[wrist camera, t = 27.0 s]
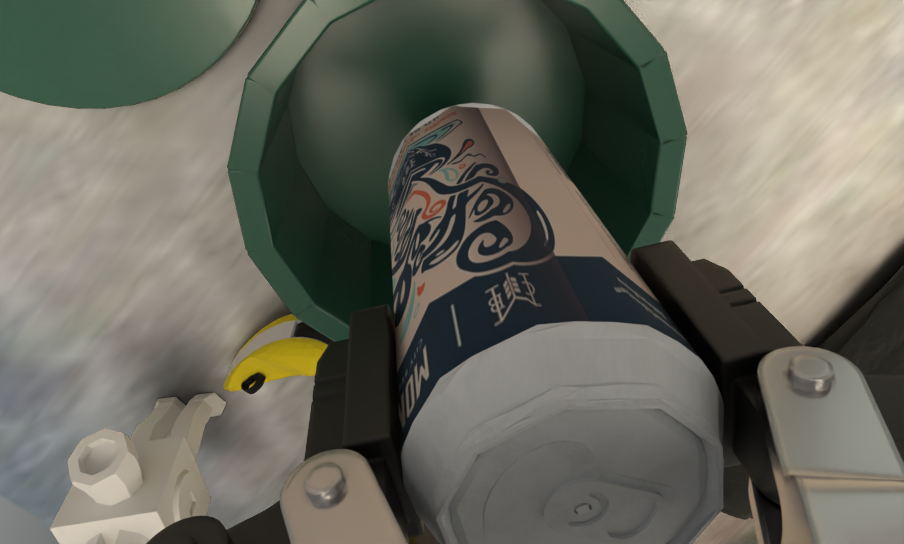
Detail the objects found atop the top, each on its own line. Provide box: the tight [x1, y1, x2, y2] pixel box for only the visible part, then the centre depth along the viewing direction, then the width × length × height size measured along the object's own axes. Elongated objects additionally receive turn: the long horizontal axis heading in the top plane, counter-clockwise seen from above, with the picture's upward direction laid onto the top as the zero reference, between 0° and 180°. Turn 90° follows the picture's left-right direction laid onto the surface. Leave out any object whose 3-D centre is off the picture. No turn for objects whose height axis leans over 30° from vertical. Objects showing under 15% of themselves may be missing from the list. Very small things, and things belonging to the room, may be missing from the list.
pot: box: [227, 0, 687, 342], centre depth 21 cm, size 13×13×8 cm
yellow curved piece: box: [223, 313, 334, 394], centre depth 28 cm, size 10×6×4 cm, turn 61°
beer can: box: [388, 103, 724, 544], centre depth 13 cm, size 5×5×12 cm
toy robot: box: [50, 393, 226, 544], centre depth 24 cm, size 4×8×12 cm, turn 6°
